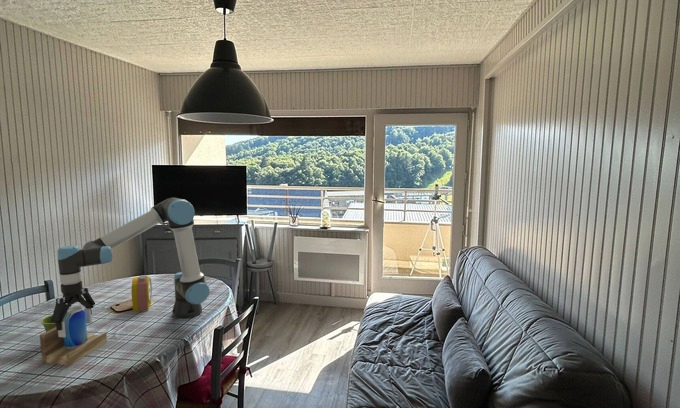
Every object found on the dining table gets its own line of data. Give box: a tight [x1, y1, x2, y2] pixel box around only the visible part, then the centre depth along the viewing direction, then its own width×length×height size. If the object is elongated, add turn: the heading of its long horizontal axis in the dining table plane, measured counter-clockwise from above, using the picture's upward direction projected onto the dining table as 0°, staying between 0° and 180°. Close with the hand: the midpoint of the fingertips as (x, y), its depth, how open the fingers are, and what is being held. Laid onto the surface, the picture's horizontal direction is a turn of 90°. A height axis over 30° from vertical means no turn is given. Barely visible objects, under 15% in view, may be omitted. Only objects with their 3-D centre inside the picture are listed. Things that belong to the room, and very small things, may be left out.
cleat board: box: [39, 327, 108, 366], centre depth 165 cm, size 13×20×12 cm, turn 171°
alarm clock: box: [131, 274, 153, 313], centre depth 214 cm, size 15×8×18 cm, turn 20°
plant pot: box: [40, 314, 60, 332], centre depth 174 cm, size 12×12×11 cm
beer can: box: [62, 306, 88, 349], centre depth 164 cm, size 8×8×16 cm
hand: (75, 329), depth 165 cm, fingers open, 13 cm apart
